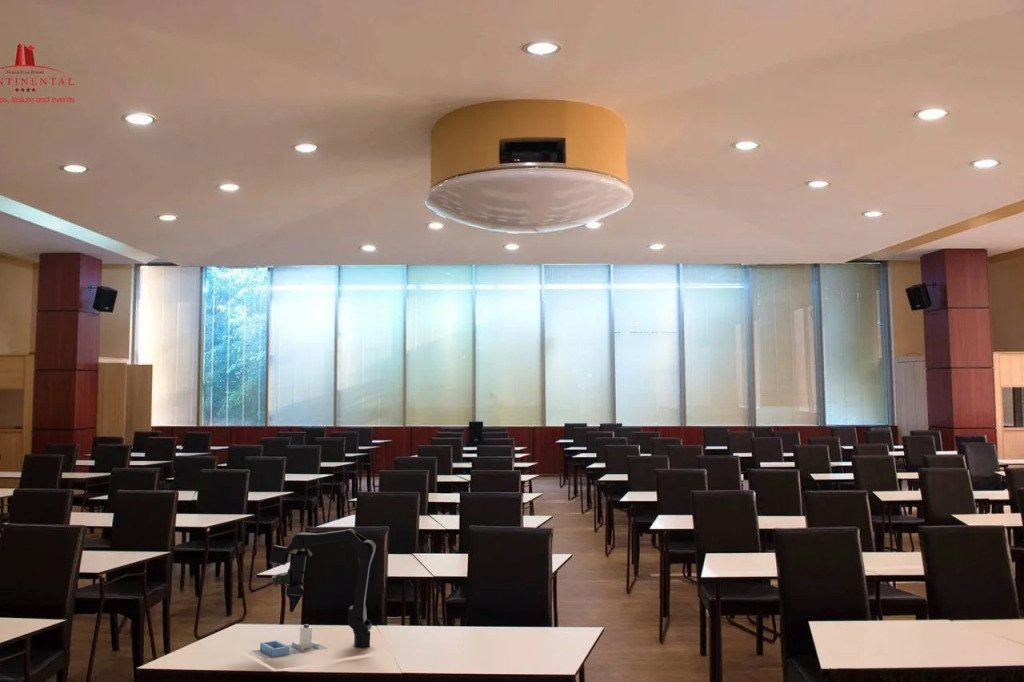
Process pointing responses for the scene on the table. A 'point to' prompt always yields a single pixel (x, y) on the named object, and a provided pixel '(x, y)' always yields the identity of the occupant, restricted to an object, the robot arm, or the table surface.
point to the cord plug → (306, 636)
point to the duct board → (284, 648)
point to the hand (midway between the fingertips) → (291, 608)
